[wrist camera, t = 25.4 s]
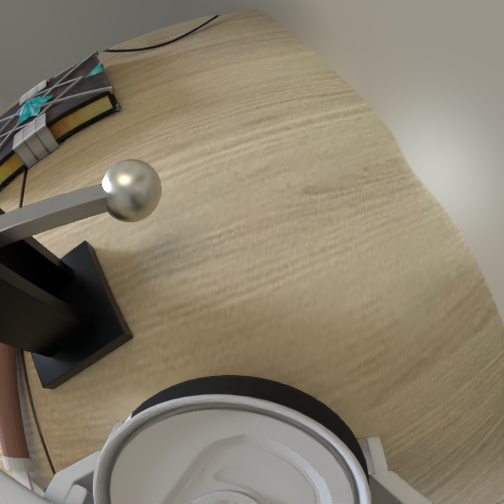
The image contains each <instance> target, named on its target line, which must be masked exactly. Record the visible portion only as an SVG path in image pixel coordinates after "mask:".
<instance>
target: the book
mask: <svg viewBox="0 0 504 504" xmlns="http://www.w3.org/2000/svg"><path fill="white" fill-rule="evenodd" d="M97 55H99V54H98V51H95V52H93V53H92V54H91V55H90V56H88V57H87V58H86V59H85V60H83V61H82V62H80V63H78V64H76V65H75V66H73V67H71V68H70V69H68V70H66V71H65V72H63V73H61V74H60V75H58V76H57V77H55V78H53V79H52V80H50V81H49V82H47V80H44V81H43V82H41V83H40V84H39V85H37V86H36V87H34V88H33V89H31V90H30V91H28V92H27V93H26V94H24V95H23V96H22V97H21V100H20V102H18V103H17V104H16V105H14V106H13V107H12V108H11V109H9V110H8V111H7V112H6V113H4V114H3V115H2V116H1V117H0V188H1V187H2V186H3V185H4V184H6V183H7V182H8V181H9V180H10V179H11V178H12V177H14V176H15V175H16V174H17V173H18V172H20V171H21V170H22V169H23V168H25V167H27V168H28V169H29V168H30V167H31V166H33V165H34V164H35V163H37V162H38V161H39V160H41V159H42V158H43V157H45V156H46V155H48V154H49V153H50V152H52V151H53V150H55V149H56V148H58V147H59V141H61V140H62V139H64V138H65V137H67V136H68V135H70V134H71V133H73V132H75V131H76V130H78V129H80V128H81V127H83V126H85V125H87V124H89V123H90V122H92V121H94V120H96V119H98V118H100V117H102V116H104V115H106V114H107V113H109V112H112V111H119V110H121V106H120V104H119V103H118V102H117V100H116V98H115V96H114V92H115V91H114V89H113V86H110V84H109V81H108V79H107V77H106V75H105V73H104V70H103V67H104V66H103V64H102V63H101V64H100V61H99V59H98V57H97Z"/></svg>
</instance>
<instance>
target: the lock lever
mask: <svg viewBox="0 0 504 504" xmlns="http://www.w3.org/2000/svg"><path fill="white" fill-rule="evenodd" d="M161 190H162V187H161V181H160V178H159V176H158V174H157V172H156V171H155V170H154V168H153V167H151V166H150V165H149V164H147V163H146V162H144V161H141V160H136V159H128V160H123V161H121V162H119V163H117V164H115V165H114V166H112V167H111V168H110V169H109V170H108V172H107V173H106V174H105V176H104V178H103V181H102V184H98V185H94V186H90V187H87V188H83V189H79V190H76V191H72V192H69V193H66V194H62V195H59V196H56V197H52V198H49V199H46V200H43V201H40V202H37V203H33V204H30V205H28V206H25V207H22V208H19V209H16V210H13V211H10V212H8V213H5V214H2V215H0V247H3V246H6V245H8V244H11V243H14V242H16V241H19V240H22V239H24V238H27V237H30V236H33V235H36V234H39V233H41V232H44V231H47V230H50V229H53V228H56V227H59V226H62V225H65V224H69V223H72V222H75V221H78V220H81V219H85V218H88V217H91V216H94V215H98V214H101V213H105V212H108V213H109V214H110V215H111V216H112V217H114V218H115V219H117V220H120V221H123V222H137V221H140V220H142V219H144V218H146V217H148V216H149V215H150V214H151V213H152V212H153V211H154V210H155V208H156V207H157V205H158V203H159V201H160V198H161Z"/></svg>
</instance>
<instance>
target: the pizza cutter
mask: <svg viewBox="0 0 504 504" xmlns="http://www.w3.org/2000/svg"><path fill="white" fill-rule="evenodd" d="M0 442H1V447H2V452H3V455H2V458H3V462H4V466H5V469H7V470H10V471H12V474H13V477H14V479H15V480H16V481H18V482H20V483H21V484H23V485H24V486H26V487H27V488H29V489H30V490H32V491H34V492H35V493H37V494H39V495H40V496H42V497H43V496H44V494H45V492H46V491H45V490H44V489H43V488H42V487H41V486H40V485H39V484H38V483H37V482H36V481H34V480H33V479H32V478H31V477H30V476H29V472H31V471H34V467H33V463H32V459H31V457H29V452H28V448H27V443H26V438H25V433H24V428H23V422H22V415H21V408H20V400H19V392H18V381H17V366H16V348H15V347H12V346H9V345H6V344H3V343H0Z"/></svg>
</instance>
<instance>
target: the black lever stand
mask: <svg viewBox="0 0 504 504" xmlns="http://www.w3.org/2000/svg"><path fill="white" fill-rule="evenodd" d="M2 214H5V212H4V211H3V210H2V209H1V208H0V215H2ZM132 337H133V336H132V334H131V332H130V330H129V328H128V326H127V324H126V322H125V320H124V318H123V316H122V314H121V312H120V310H119V308H118V305H117V303H116V301H115V299H114V297H113V295H112V292H111V290H110V288H109V286H108V283H107V281H106V279H105V276H104V274H103V272H102V269H101V267H100V264H99V262H98V259H97V257H96V254H95V252H94V249H93V247H92V246H91V245H90V244H89V243H88V242H87V241H84V242H82V243H81V244H80V245H78V246H77V247H76V248H74V249H73V250H72V251H70V252H69V253H68V254H66V255H65V256H64V257H62V258H61V259H59V258H58V257H57V256H55V255H54V254H53V253H52V252H50V251H49V250H48V249H47V248H45V247H44V246H43V245H42V244H40V243H39V242H38V241H37V240H36V239H34V238H33V237H32V236H30V237H27V238H24V239H22V240H19V241H16V242H14V243H11V244H8V245H6V246H3V247H0V343H3V344H6V345H9V346H12V347H15V348H18V349H21V350H25V351H28V352H31V355H32V358H33V361H34V364H35V367H36V370H37V373H38V376H39V378H40V381H41V384H42V386H43V388H48V389H54V388H56V387H57V386H59V385H60V384H62V383H63V382H65V381H66V380H68V379H69V378H71V377H73V376H74V375H76V374H77V373H79V372H80V371H82V370H83V369H85V368H86V367H88V366H90V365H91V364H93V363H94V362H96V361H97V360H99V359H100V358H102V357H103V356H105V355H106V354H108V353H110V352H111V351H113V350H114V349H116V348H117V347H119V346H120V345H122V344H123V343H125V342H126V341H128V340H129V339H131V338H132Z"/></svg>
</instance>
